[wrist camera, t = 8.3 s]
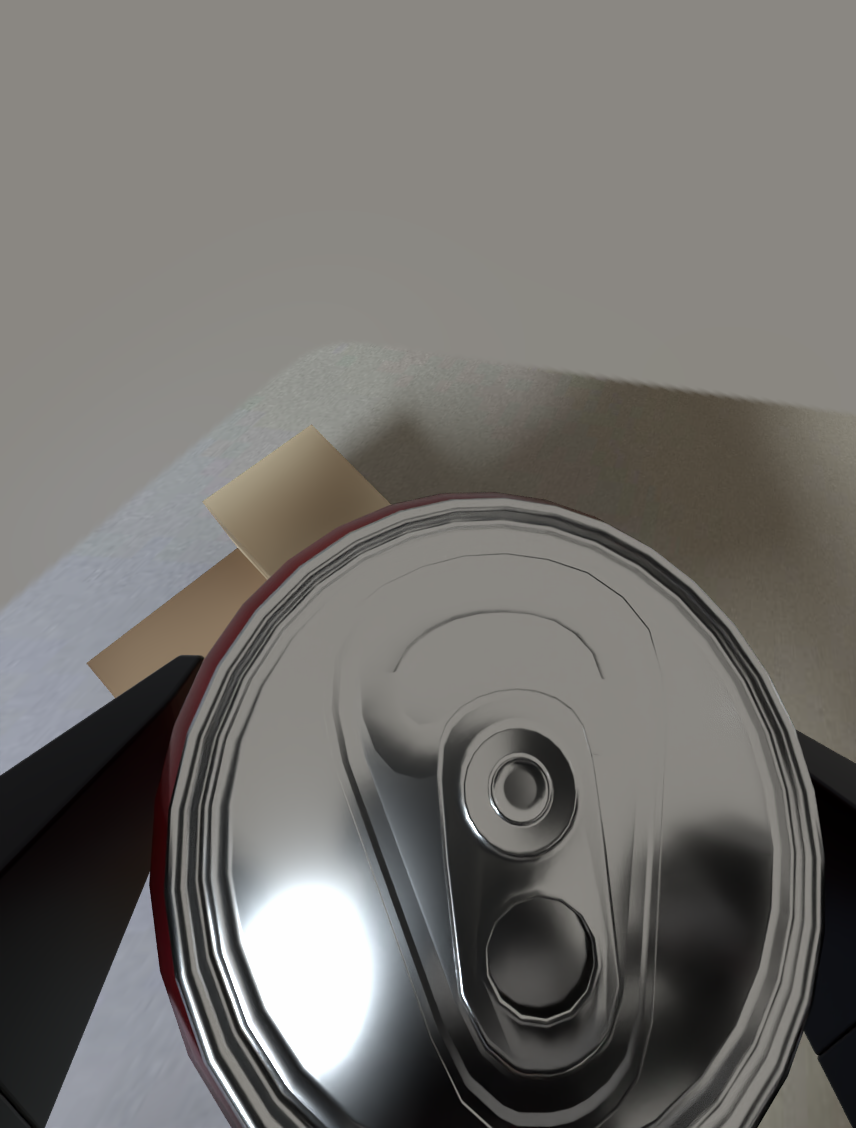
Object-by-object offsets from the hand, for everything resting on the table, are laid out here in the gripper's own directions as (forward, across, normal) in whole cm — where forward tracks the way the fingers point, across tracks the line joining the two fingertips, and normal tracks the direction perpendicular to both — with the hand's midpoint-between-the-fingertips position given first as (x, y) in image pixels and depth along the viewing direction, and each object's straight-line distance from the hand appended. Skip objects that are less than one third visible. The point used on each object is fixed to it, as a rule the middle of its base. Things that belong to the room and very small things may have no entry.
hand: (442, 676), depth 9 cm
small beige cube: (+9, +4, +2) cm, 10 cm away
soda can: (+4, 0, +7) cm, 8 cm away
